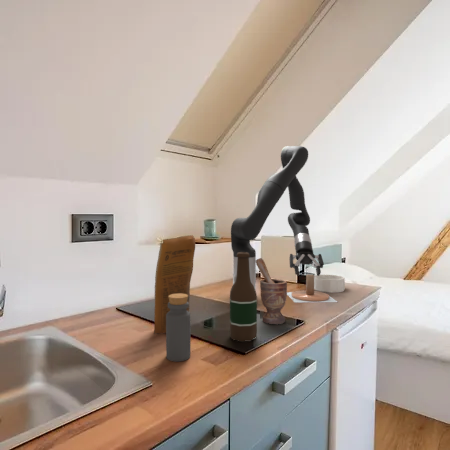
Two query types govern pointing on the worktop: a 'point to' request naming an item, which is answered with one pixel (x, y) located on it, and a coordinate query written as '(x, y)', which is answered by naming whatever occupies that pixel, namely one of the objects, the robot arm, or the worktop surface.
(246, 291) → the beer bottle
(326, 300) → the mat
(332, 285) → the bowl
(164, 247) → the pancake mix bag
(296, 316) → the worktop surface
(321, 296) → the lid
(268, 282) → the mortar and pestle
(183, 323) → the bottle
